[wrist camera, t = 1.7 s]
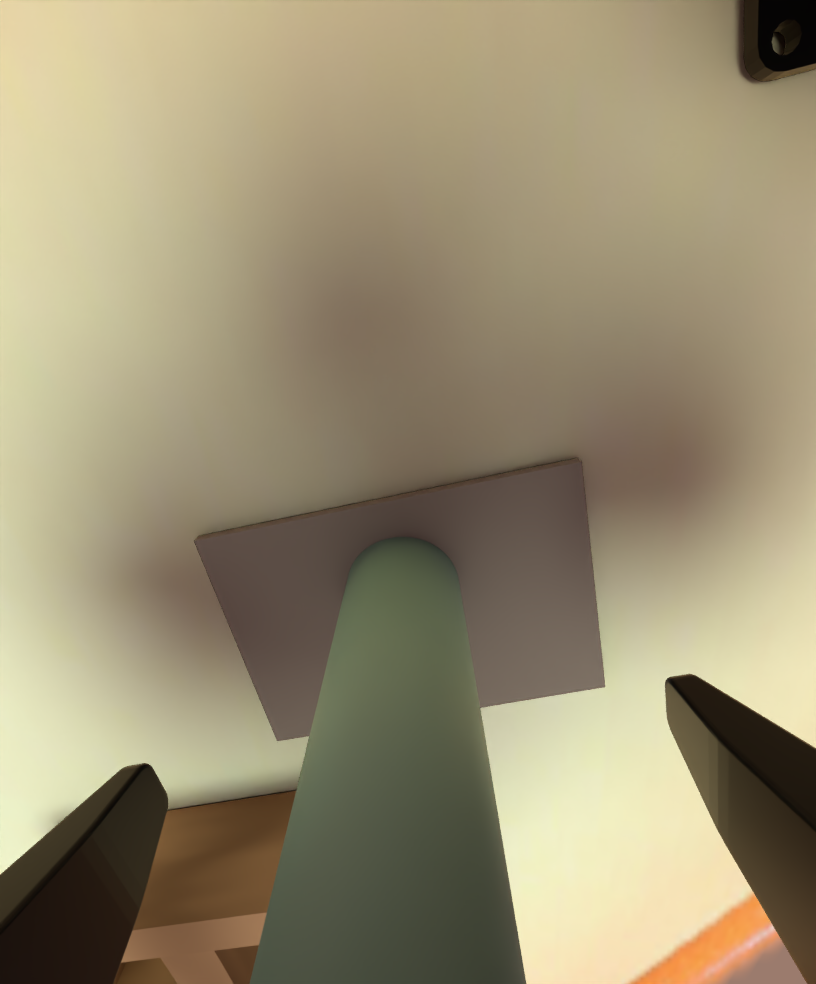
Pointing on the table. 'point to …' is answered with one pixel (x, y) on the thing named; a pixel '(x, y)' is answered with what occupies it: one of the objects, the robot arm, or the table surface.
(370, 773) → the peg
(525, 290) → the table surface
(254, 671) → the mat
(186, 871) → the block
